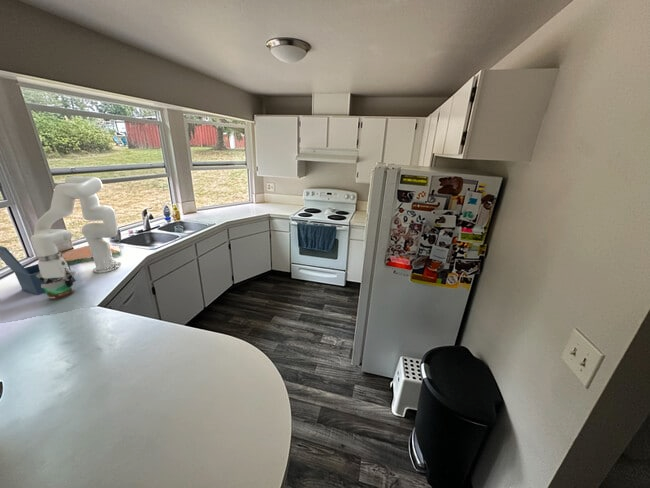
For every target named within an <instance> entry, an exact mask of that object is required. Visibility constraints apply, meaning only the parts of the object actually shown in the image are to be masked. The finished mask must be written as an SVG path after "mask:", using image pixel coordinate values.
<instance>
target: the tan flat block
mask: <svg viewBox="0 0 650 488" xmlns="http://www.w3.org/2000/svg"><path fill="white" fill-rule="evenodd" d="M109 246H110V250H111V253H112V256H113V255H114V256H113V258H114V257H116V255H117V257H118V256H120V255H121V253H120V252H121V248H120V245H113V244H111V243H109ZM61 254H62V258H63V259H64V260H65V261H66V263H68V264H69V266H70V265H76V264H79V263H80V264H81V263H83V261H81V260H83V259H88V258H89V261H93V262H94V259H93V256H92V253H91V250H90V247H89V245H85V246H81V247H77V248H74V249H70V250H67V251H66V252H65V253H61ZM80 261H81V262H80ZM85 262H88V260H85Z"/></svg>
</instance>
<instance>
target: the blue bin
mask: <svg viewBox="0 0 650 488" xmlns="http://www.w3.org/2000/svg"><path fill="white" fill-rule="evenodd" d="M67 265H68V267H69V269H70V270H72V269H71V266H70V263H67ZM24 268H25V269H26V270H27V271H28V272H29V273H30V275H26V274H23V273H19V272H16V271H13V272H14V274H15V277H16V279H17V281H18V284H19V285H20V288H21V290H22V291H25V292H29V293H32V294H35V295H40V294H43V293H46V292H45V290H44V288H41V284H46V283H44V281H42V280H40V279H39V278H37V277H36V275H37V274H39V273H40V270H39V265H38V263H37V264H32V265H30V266H29V265H28V266H26V267H24ZM69 275H70V274H69ZM74 277H75V276H73V277H72V279H71V280H72V283H73V282H76V280H75V278H74ZM60 278H61V277H60ZM55 279H58V278H51V279H50V280H52V281H53V280H55Z"/></svg>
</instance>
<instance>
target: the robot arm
mask: <svg viewBox="0 0 650 488" xmlns="http://www.w3.org/2000/svg"><path fill="white" fill-rule="evenodd" d="M102 189H103V182H102V181H101V179H100V178H99V177H96V176H68V177H66V178H65V179H64V183H59V184H56V185H55V186H54V190H53V194H52V198H51V203H50V207H49V209H48V210H47V211H46V212H45V213H43V214H42V215H41V216H40V217H39V218H38V219H37V221H36V222H35V225H34V230H33V235H31V236H30V242H31V244H32V246H33V250H34V251H35V254H36V256H37V259H38V261H37V264H38V265H39V270H40V273H39V274H37V275H36V277H37V278H39V279H40V280H42V281H44V283H46V284H47V283H49V282H51V281H52V280H50V279H51V278H60V277H62V278H64V279H65V280H66V281H65V282H66V285H67V287H68V288H69V287H72V286H73V284H74V283H73V282H72V280H71V279H72V277H75V275H76V274H77V273H76V271H74V270H72V269H71V268H70V269H71V270H70V269H69V267H70V266H69V267H68V265H67V263H66V261H65V260H64V259H63V258H62V254H63V253H60V252H59V249H58V248H57V245H58V246H59V245H62V244H66V243H69V242H70V241H71V240H72V238H73V233H72V232H71V231H70V230H68V229H64V228H58V229H57V228H52V226H53V225H54V224H55V223H56V222H57V221H58V220H61V219H64V218H66V217H68V216H70V215H72V214H73V212H74V207H75V201H76V200H79V202H80V207H81V215H82V217H83V219H85V220H86V221H90V223H86V224H84V225H82V227H81V233H82V235H83V237H84V238H85V240H86V243H87V244H88V246H89V247H90V250H91V253H92V256H93V257H92V260H93V263H94V265H95V267H94V268H93V272H94V273H97V274H101V273H107V272H111V271H114V270H117V269H118V268H119V267H121V266H122V262H121V261H118V262H117V261H116V260H115V259H114V256H113V253H111V250H110V246H109V244H110V243H109V241H108V239H111V238H115V237H117V235H118V232H119V231H118V229H119V228H118V221H117V215H116V212H115V210H114V208H113V207H112V206H111V205H110V206H109V205H101V204H100V199H99V197H98V195H97V193H98V192H100V191H101V190H102ZM69 274H70V275H69ZM67 277H68V278H67Z"/></svg>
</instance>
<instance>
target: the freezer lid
mask: <svg viewBox="0 0 650 488" xmlns="http://www.w3.org/2000/svg"><path fill="white" fill-rule="evenodd" d="M0 259H1V261H2V262H4V264H5V265H6V266H7V267H8V268H9V269H10V270H11V271H12V272H14V271H16V272H19V273H23V274H26V275H30V273H29V272H28V271H27V270H26V269H25V268H26V267H24V265H22V264H21V263H20V261H19V260H18V259H17V258H16V257H15V255H13V254H12V253H11V252H10V250H9V249H8V248H7V247H5V246H1V245H0Z"/></svg>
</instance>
